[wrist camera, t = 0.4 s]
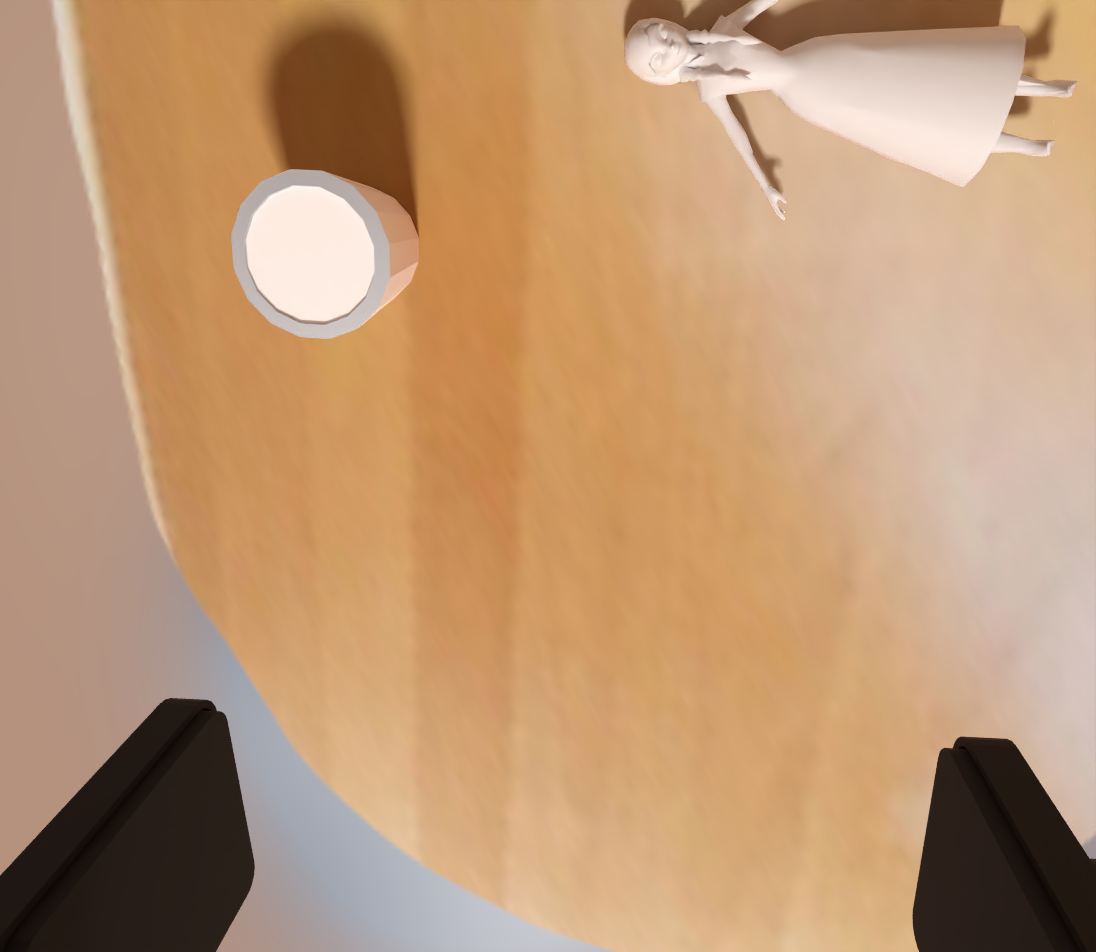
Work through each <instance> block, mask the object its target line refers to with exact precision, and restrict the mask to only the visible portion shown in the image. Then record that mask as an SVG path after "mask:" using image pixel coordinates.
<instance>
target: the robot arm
mask: <svg viewBox="0 0 1096 952" xmlns="http://www.w3.org/2000/svg"><path fill="white" fill-rule="evenodd" d="M254 868H255V866H254V858H253V853H252V848H251V842H250V837H249V832H248V826H247V821H246V817H245V811H244V806H243V800H242V795H241V790H240V784H239V779H238V774H237V769H236V763H235V758H234V753H233V748H232V742H231V737H230V732H229V727H228V722H227V718H226V716H225V714H224V713H222V712H220V711H217V710H216V707H215V705H214V704H213V703H212V702H211V701H209V700H199V699H177V698H169V699H166V700H164V701H163V702H162V703H160V704H159V705H158V706H157V707H156V709H155V710H154V711H153V712H152V713H151V714H150V715H149V716H148V717H147V718H146V719H145V720H144V721H143V723H142V724H141V725H140V726H139V727H138V728H137V729H136V730H135V731H134V732H133V733H132V734H131V735H130V737H129V738H128V739H127V740H126V741H125V742H124V743H123V744H122V745H121V746H120V747H119V748H118V749H117V751H116V752H115V753H114V754H113V755H112V756H111V757H110V758H109V759H108V760H107V761H106V763H104V765H103V766H102V767H101V768H100V769H99V770H98V771H97V772H96V773H95V774H94V775H93V776H92V778H91V779H90V780H89V781H88V782H87V783H86V784H85V785H84V786H83V787H82V788H81V789H80V790H79V791H78V793H77V794H76V795H75V796H74V797H73V798H72V799H71V800H70V801H69V802H68V803H67V804H66V806H65V807H64V808H63V809H62V810H61V811H60V812H59V813H58V814H57V815H56V816H55V817H54V818H53V819H52V821H51V822H50V823H49V824H48V825H47V826H46V827H45V828H44V829H43V830H42V831H41V832H40V834H39V835H38V836H37V837H36V838H35V839H34V840H33V841H32V842H31V843H30V844H29V845H28V846H27V847H26V849H25V850H24V851H23V852H22V853H21V854H20V855H19V856H18V857H17V858H16V859H15V860H14V861H13V862H12V864H11V865H10V866H9V867H8V868H7V869H6V870H5V871H4V872H3V873H2V874H1V875H0V952H216V950H217V949H218V947H219V945H220V943H221V941H222V940H223V938H224V936H225V934H226V932H227V931H228V929H229V927H230V925H231V923H232V922H233V920H234V918H235V916H236V915H237V913H238V911H239V909H240V907H241V906H242V903H243V902H244V900H245V898H246V897H247V895H248V893H249V891H250V888H251V885H252V881H253V877H254ZM913 929H914V935H915V940H916V944H917V947H918V950H919V952H1096V859H1089V857H1088V856H1087V854H1086V853H1085V851H1084V849H1083V848H1082V846H1081V845H1080V843H1079V842H1078V840H1077V839H1076V837H1075V836H1074V834H1073V833H1072V831H1071V829H1070V828H1069V826H1068V825H1067V823H1066V822H1065V820H1064V819H1063V817H1062V816H1061V814H1060V813H1059V811H1058V810H1057V808H1056V806H1055V805H1054V803H1053V802H1052V800H1051V799H1050V797H1049V796H1048V794H1047V793H1046V791H1045V790H1044V788H1043V786H1042V785H1041V783H1040V782H1039V780H1038V779H1037V777H1036V776H1035V774H1034V773H1033V771H1032V770H1031V768H1030V766H1029V765H1028V763H1027V762H1026V760H1025V759H1024V757H1023V756H1022V754H1021V753H1020V751H1019V750H1018V748H1017V747H1016V745H1015V744H1014V743H1013V742H1012V741H1010V740H1008V739H998V738H978V737H959V738H957V740H956V741H955V743H954V747H953V748H943V749H942V750H941V751H940V753H939V757H938V762H937V768H936V774H935V780H934V786H933V792H932V798H931V804H930V810H929V816H928V822H927V828H926V834H925V840H924V846H923V853H922V859H921V865H920V871H919V877H918V883H917V889H916V895H915V901H914V907H913Z"/></svg>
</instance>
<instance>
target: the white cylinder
mask: <svg viewBox="0 0 1096 952" xmlns="http://www.w3.org/2000/svg"><path fill="white" fill-rule="evenodd" d="M231 240H232V252H233V265H234V270H235V272H236V275H237V277H238V279H239V281H240V283H241V285H242V288H243V290H244V292H245V294H246V296H247V299H248V300H249V301H250V302H251V303H252V304H253V305H254V306H255V307H256V308H257V309H258V310H259V311H260V312H261V313H262V314H263V316H264V317H265V318H266V319H267V320H268V321H269V322H270V323H272V324H274V325H276V326H278V327H280V328H282V329H284V330H286V331H288V332H290V333H292V334H294V335H297V336H299V337H308V338H324V339H331V338H334V337H336V336H339V335H342V334H344V333H347V332H350V331H353V330H355V329H358V328H359V327H360V326H361V325H363V324H364V323H365V322H366V321H367V320H368V319H370V318H371V317H372V316H373V315H374V314H376V313H377V312H378V311H379V310H380V309H382V308H383V307H384V306H385V305H386V304H388V303H389V302H390V301H391V300H392V299H394V298H395V297H396V296H397V295H398V294H399V293H400V292H401V291H402V290H403V289H404V288H405V287H406V286H407V285H408V284H409V283H410V282H411V280H412V278H413V275H414V272H415V270H416V267H417V265H418V262H419V237H418V234H417V232H416V229H415V227H414V224H413V222H412V219H411V216H410V215H409V214H408V213H407V211H406V210H405V209H404V208H403V207H402V206H401V205H400V204H399V203H398V202H397V200H396V199H395V198H394V197H391V196H389V195H387V194H385V193H383V192H381V191H379V190H377V189H375V188H373V187H370V186H367V185H364V184H361V183H358V182H355V181H352V180H349V179H346V178H343V177H340V176H337V175H334V174H331V173H328V172H325V171H321V170H299V169H289V170H286V171H284V172H282V173H279V174H277V175H275V176H272V177H270V178H268V179H265V180H263V181H261V182H260V183H259V184H258V185H257V187H256V188H255V189H254V190H253V191H252V192H251V193H250V195H249V196H248V197H247V198H246V199H245V200H244V201H243V203H242V204H241V205H240V208H239V211H238V215H237V218H236V221H235V225H234V228H233V231H232V234H231Z"/></svg>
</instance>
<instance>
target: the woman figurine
mask: <svg viewBox="0 0 1096 952" xmlns="http://www.w3.org/2000/svg"><path fill="white" fill-rule="evenodd" d="M777 1H779V0H751V1H750V2H748V3H747V4H745V5H744V6H742V7H741V8H739V9H737V10H736V11H734V12H733V13H731V14H730V15H728V16H727V17H725V16H722V15H721V16H720V17H719V19H718V20H717V21H716V23H715V24H714V26H713V27H712V28H711V30H710V31H709V32H708V31H707V30H706V29H704V30H702V31H699V30H692V31H689V30H687V29H685V28H684V27H682V26H680V25H678V24H677V23H674V22H671V21H668V20H665V19H659V18H649V19H642V20H638V21H637V22H636V23H635V24H634V26H633V27H632V28H631V30H630V31H629V33H628V35H627V38H626V40H625V45H624V55H625V62H626V64H627V65H628V67H629V68H630V70H631V71H632V72H633V73H634V74H636V75H637V76H638V77H639V78H641V79H642V80H644V81H647V82H649V83H653V84H657V85H673V84H675V83H678V82H687V81H689V80H691V81H692V82H694V81H696V80H697V86H698V92H699V98H700V103H703V102H705V103H706V104H707V106H708V107H709V108H710V109H711V110H712V112H713V113H714V114H715V115H716V116H717V118H718V119H719V120H720V122H721V123H722V125H723V127H724V128H725V130H726V131H727V133H728V135H729V136H730V138H731V140H732V141H733V143H734V145H735V147H736V148H737V150H738V151H739V153H740V154H741V156H742V157H743V158H744V160H745V162H746V163H747V165H748V166H749V168H750V170H751V172H752V173H753V175H754V177H755V178H756V180H757V182H758V184H759V185H760V187H761V189H762V190H763V192H764V194H765V195H766V197H767V198H768V200H769V202H770V203H771V205H772V207H773V208H774V210H775V212H776V214H777V215H778V216H779V217H780V218H781V219H782V220H783V221H785V216H784V215H783V214H782V213H781V212H785V210H782V209H780V208H779V207H778V205H777V200H778V199H779V200H781V201H782V202H783V203H784V204H786V203H787V201H786V200H785V199H784V198H783V197H782V196H781V195H780V193H779V192H778V191H777V190H776V189H774V188H772V187H770V185H769V184H768V182H767V180H766V178H765V176H764V174H763V172H762V170H761V169H760V167H759V165H758V163H757V161H756V159H755V157H754V155H753V151H752V148H751V145H750V142H749V140H748V137H747V135H746V132H745V130H744V129H743V127H742V126H741V124H740V123H739V122H738V120H737V119H736V117H735V116H734V114H733V113H732V110H731V108H730V106H729V104H728V102H727V99H726V95H729V94H737V93H742V92H749V91H760V90H770V91H772V92H773V93H774V94H775V95H776V96H777V97H778V98H779V99H780V100H781V101H782V102H783V103H784V104H785V106H786V107H787V108H788V109H789V110H790V111H792V112H793V113H795V114H796V115H798V116H799V117H801V118H802V119H804V120H805V121H807V122H809V123H811V124H813V125H815V126H818V127H820V128H822V129H824V130H826V131H829V132H831V133H833V134H835V135H837V136H840V137H842V138H844V139H846V140H848V141H851V142H853V143H855V144H857V145H859V146H861V147H864V148H866V149H868V150H870V151H872V152H875V153H877V154H879V155H881V156H883V157H886V158H889V159H892V160H895V161H898V162H901V163H904V164H907V165H909V166H912V167H915V168H918V169H920V170H923V171H926V172H928V173H931V174H933V175H935V176H938V177H940V178H942V179H944V180H947V181H949V182H951V183H953V184H956V185H958V186H960V187H962V188H963V187H964V186H965V185H966V184H967V183H968V182H969V181H970V180H971V179H972V178H973V177H974V175H975V174H976V173H977V172H978V171H979V170H980V169H981V168H982V166H983V165H984V163H985V161H986V159H987V158H988V156H989V154H990V153H998V152H1019V153H1022V154H1026V155H1033V156H1047V155H1049V154H1050V153H1051V150H1052V147H1053V144H1054V141H1055V140H1030V139H1024V138H1021V137H1017V136H1014V135H1011V134H1007V133H1004V132H1001V131H1002V128H1003V126H1004V123H1005V121H1006V118H1007V116H1008V113H1009V111H1010V108H1011V106H1012V103H1013V100H1014V96H1057V97H1069V96H1072V93H1073V91H1074V88H1075V85H1076V83H1077V81H1065V80H1053V81H1046V82H1045V81H1042V80H1039V79H1036V78H1033V77H1030V76H1027V75H1024V74H1021V73H1022V70H1023V63H1024V55H1025V46H1026V38H1025V36H1024V34H1023V33H1022V31H1021V29H1020V28H1019V26H996V27H972V28H948V29H926V30H906V31H886V32H866V33H847V34H836V35H827V36H819V37H814V38H811V39H809V40H806V41H803V42H801V43H798V44H796V45H793V46H791V47H789V48H787V49H785V50H782V51H780V50H778V49H776V48H774V47H772V46H770V45H768V44H766V43H764V42H763V41H761V40H759V39H757V38H755V37H753V36H752V35H750V34H748V33H746V32H745V31H743V28H744V27H745V26H746V25H748V24H749V23H750V22H751V21H752V20H753V19H754V18H755V17H756V16H757V15H758V14H760V13H761V12H763V11H764V10H766V9H767V8H769V7H770V6H772V5H773V4H775V3H776V2H777ZM699 43H701V44H699Z"/></svg>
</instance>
